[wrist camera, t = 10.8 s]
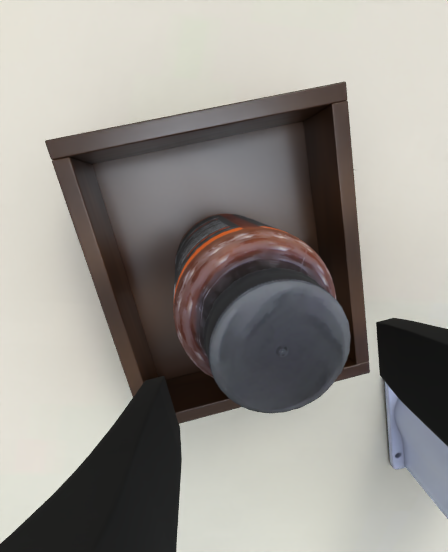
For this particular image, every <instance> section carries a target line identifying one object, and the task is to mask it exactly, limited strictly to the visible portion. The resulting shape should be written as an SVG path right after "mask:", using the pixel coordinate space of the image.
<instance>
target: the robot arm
mask: <svg viewBox="0 0 448 552" xmlns="http://www.w3.org/2000/svg"><path fill="white" fill-rule="evenodd" d="M376 326H377V340H378V354H379V369H380V376H381V377H382V378H383V379H384V381H385V393H386V408H387V423H388V438H389V453H390V464H391V466H392V467H393V468H394V469H401V468H404V467H406V468H407V470H408V471H409V472H410V473H411V475H412V476H413V477H414V478H415V479H416V481H417V482H418V483H419V484H420V486H421V487H422V488H423V489H424V490H425V492H426V493H427V494H428V495H429V497H430V498H431V499H432V500H433V502H434V503H435V504H436V505H437V506H438V508H439V509H440V510H441V511H442V513H443V514H444V515H445V516H446V517H447V519H448V329H445V328H440V327H436V326H432V325H428V324H423V323H419V322H414V321H409V320H404V319H397V318H392V319H388V320H384V321H380V322H376ZM180 478H181V440H180V427H179V423H178V420H177V417H176V413H175V410H174V407H173V403H172V400H171V396H170V393H169V390H168V386H167V383H166V380H165V376H161V377H157V378H153V379H149V380H145V382H144V383H143V384H142V386H141V387H140V389H139V390H138V391H137V393H136V394H135V396H134V397H133V399H132V400H131V401H130V403H129V404H128V406H127V407H126V408H125V410H124V411H123V413H122V414H121V415H120V417H119V418H118V419H117V421H116V422H115V424H114V425H113V426H112V428H111V429H110V430H109V431H108V432H107V434H106V435H105V436H104V437H103V439H102V440H101V441H100V442H99V444H98V445H97V446H96V447H95V449H94V450H93V451H92V452H91V454H90V455H89V456H88V457H87V458H86V460H85V461H84V462H83V463H82V464H81V465H80V466H79V467H78V469H77V470H76V471H75V472H74V473H73V474H72V475H71V476H70V477H69V478H68V479H67V480H66V481H65V482H64V484H63V485H62V486H61V487H60V488H59V489H58V490H57V491H56V492H55V493H54V494H53V495H52V496H51V497H50V498H49V499H48V500H47V501H46V502H45V503H44V504H43V505H42V506H41V507H39V508H38V509H37V510H36V511H35V512H34V513H33V514H32V515H31V516H30V517H29V518H28V519H27V520H26V521H25V522H24V523H23V524H22V525H20V526H19V527H18V528H17V529H16V530H15V531H14V532H13V533H12V534H11V535H10V536H9V537H8V538H6V539H5V540H4V541H3V542H2V543H1V544H0V552H176V542H177V526H178V510H179V494H180Z"/></svg>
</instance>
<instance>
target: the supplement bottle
mask: <svg viewBox="0 0 448 552" xmlns="http://www.w3.org/2000/svg"><path fill="white" fill-rule="evenodd" d="M173 310H174V322H175V328H176V332H177V336H178V338H179V341H180V343H181V345H182V347H183V348H184V350H185V351H186V353H187V355H188V356H189V358H190V359H191V360H192V361H193V363H194V364H195V365H196V366H197V367H199V368H200V370H202V371H203V372H204V373H205V374H207V375H210V376H211V377H213V378H214V380H215V382H216V383H217V385H218V387H219V388H220V389H221V391H222V392H223V393H224V394H225V395H226V396H227V397H228V398H229V399H231V400H232V401H233V402H235V403H236V404H238V405H240V406H242V407H244V408H247V409H249V410H253V411H257V412H263V413H279V412H286V411H290V410H293V409H298V408H301V407H303V406H305V405H306V404H309V403H311V402H312V401H314V400H315V399H317V398H319V397H320V396H321V395H322V394H323V393H325V392H326V391H327V390H328V389H329V387H330V386H331V385H332V384H333V383H334V381H335V380H336V379H337V377H338V376H339V375H340V374H341V372H342V370H343V367H344V365H345V363H346V361H347V358H348V354H349V351H350V339H351V335H350V329H349V322H348V320H347V317H346V315H345V313H344V311H343V308H342V307H341V305H340V304H339V303H338V301H337V300H336V294H335V288H334V284H333V281H332V277H331V274H330V273H329V270H328V269H327V267H326V265H325V263H324V262H323V261H322V259H321V258H320V257H319V255H318V254H317V253H316V252H315V251H314V250H313V249H312V248H311V247H310V246H308V245H307V244H306V243H305V242H303V241H302V240H300V239H299V238H297V237H295V236H293V235H291V234H289V233H287V232H284V231H282V230H280V229H277V228H274V227H271V226H269V225H266V224H263V223H261V222H258V221H255V220H253V219H250V218H247V217H244V216H241V215H236V214H218V215H212V216H209V217H207V218H205V219H203V220H201V221H199V222H198V223H196V224H195V225H194V226H193V227H192V228H191V229H190V230H189V231H188V232H187V233H186V235H185V236H184V237H183V239H182V241H181V243H180V245H179V248H178V251H177V255H176V266H175V283H174V308H173Z"/></svg>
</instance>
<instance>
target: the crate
mask: <svg viewBox="0 0 448 552" xmlns="http://www.w3.org/2000/svg"><path fill="white" fill-rule="evenodd" d="M346 100H347V90H346V82H340V83H335V84H330V85H325V86H320V87H315V88H310V89H305V90H300V91H295V92H290V93H285V94H279V95H274V96H269V97H264V98H259V99H254V100H249V101H244V102H239V103H234V104H229V105H224V106H218V107H213V108H208V109H203V110H198V111H193V112H188V113H183V114H178V115H173V116H168V117H163V118H157V119H152V120H147V121H142V122H137V123H132V124H127V125H122V126H117V127H112V128H107V129H102V130H96V131H91V132H86V133H81V134H76V135H71V136H66V137H61V138H56V139H51V140H46V141H45V143H46V146H47V149H48V152H49V154H50V157H51V159H52V163H53V166H54V169H55V172H56V175H57V178H58V181H59V183H60V186H61V189H62V192H63V195H64V198H65V201H66V204H67V207H68V210H69V213H70V215H71V218H72V221H73V224H74V227H75V230H76V233H77V236H78V239H79V242H80V245H81V248H82V250H83V253H84V256H85V259H86V262H87V265H88V268H89V271H90V274H91V277H92V280H93V282H94V285H95V288H96V291H97V294H98V297H99V300H100V303H101V306H102V309H103V312H104V314H105V317H106V320H107V323H108V326H109V329H110V332H111V335H112V338H113V341H114V344H115V346H116V349H117V352H118V355H119V358H120V361H121V364H122V367H123V370H124V373H125V376H126V378H127V381H128V384H129V387H130V390H131V393H132V396H133V397H134V396H135V394H136V393H137V391H138V390H139V389H140V387H141V386H142V384H143V383H144V382H145V380H149V379H153V378H157V377H161V376H165V380H166V383H167V386H168V390H169V393H170V396H171V400H172V403H173V407H174V410H175V413H176V417H177V420H178V423H183V422H187V421H191V420H194V419H198V418H202V417H206V416H209V415H213V414H217V413H220V412H224V411H228V410H232V409H235V408H239V407H242V406H240V405H238V404H236V403H235V402H233V401H232V400H231V399H229V398H228V397H227V396H226V395H225V394H224V393H223V392H222V391H221V389H220V388H219V387H218V385H217V383H216V382H215V380H214V378H213V377H211V376H210V375H207V374H205V373H204V372H203V371H202V370H200V368H199V367H197V366H196V365H195V364H194V363H193V361H192V360H191V359H190V358H189V356H188V355H187V353H186V351H185V350H184V348H183V347H182V345H181V343H180V341H179V338H178V336H177V332H176V328H175V322H174V310H173V308H174V283H175V266H176V255H177V251H178V248H179V245H180V243H181V241H182V239H183V237H184V236H185V235H186V233H187V232H188V231H189V230H190V229H191V228H192V227H193V226H194V225H195V224H196V223H198V222H199V221H201V220H203V219H205V218H207V217H209V216H212V215H218V214H236V215H241V216H244V217H247V218H250V219H253V220H255V221H258V222H261V223H263V224H266V225H269V226H271V227H274V228H277V229H280V230H282V231H284V232H287V233H289V234H291V235H293V236H295V237H297V238H299V239H300V240H302V241H303V242H305V243H306V244H307V245H308V246H310V247H311V248H312V249H313V250H314V251H315V252H316V253H317V254H318V255H319V257H320V258H321V259H322V261H323V262H324V263H325V265H326V267H327V269H328V270H329V273H330V274H331V277H332V281H333V284H334V288H335V294H336V300H337V301H338V303H339V304H340V305H341V307H342V308H343V311H344V313H345V315H346V317H347V320H348V322H349V329H350V335H351V339H350V351H349V354H348V358H347V361H346V363H345V365H344V367H343V370H342V372H341V374H340V375H339V376H338V377H337V379H336V380H335V381H334V382H336V381H340V380H344V379H347V378H351V377H355V376H359V375H362V374H366V373H369V372H370V369H369V355H368V343H367V330H366V318H365V306H364V294H363V282H362V270H361V258H360V245H359V233H358V221H357V209H356V197H355V185H354V173H353V160H352V148H351V136H350V124H349V112H348V101H346Z"/></svg>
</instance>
